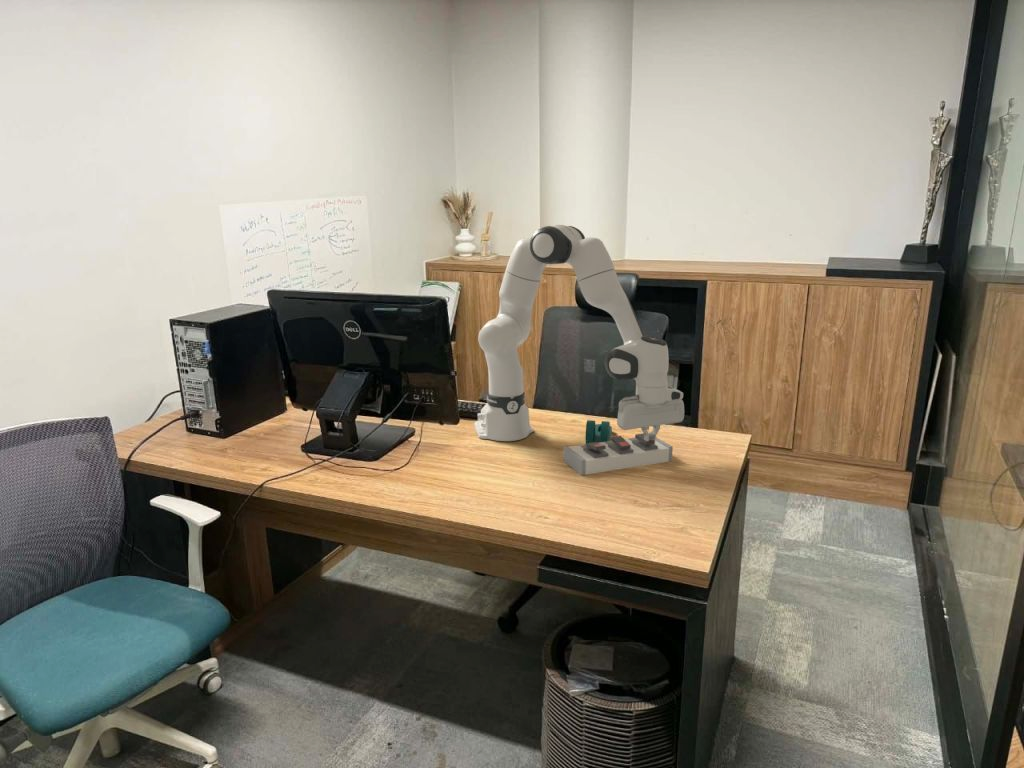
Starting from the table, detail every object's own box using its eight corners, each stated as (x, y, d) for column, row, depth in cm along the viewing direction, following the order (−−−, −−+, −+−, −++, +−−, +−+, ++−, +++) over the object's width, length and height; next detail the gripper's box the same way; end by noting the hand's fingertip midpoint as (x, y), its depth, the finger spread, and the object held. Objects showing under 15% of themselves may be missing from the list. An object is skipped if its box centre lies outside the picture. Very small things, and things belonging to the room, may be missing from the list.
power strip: (563, 460, 204) (563, 445, 203) (650, 447, 214) (650, 432, 213) (581, 475, 193) (581, 459, 192) (672, 460, 203) (672, 445, 202)
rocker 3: (635, 437, 206) (635, 434, 206) (644, 436, 207) (644, 433, 207) (645, 445, 201) (646, 441, 200) (654, 443, 202) (655, 440, 201)
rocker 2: (611, 440, 203) (611, 436, 203) (620, 438, 204) (620, 435, 204) (621, 449, 198) (621, 446, 198) (630, 448, 199) (630, 445, 199)
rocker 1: (586, 446, 201) (586, 443, 200) (595, 445, 202) (595, 441, 201) (596, 450, 195) (595, 446, 195) (605, 449, 196) (605, 445, 196)
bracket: (607, 450, 213) (608, 425, 211) (585, 448, 215) (585, 424, 213) (612, 431, 230) (613, 408, 228) (592, 429, 232) (592, 407, 230)
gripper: (624, 400, 191) (623, 448, 195) (688, 392, 198) (686, 438, 202) (613, 395, 197) (612, 441, 201) (675, 387, 204) (673, 432, 207)
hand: (650, 440), depth 201 cm, fingers closed
